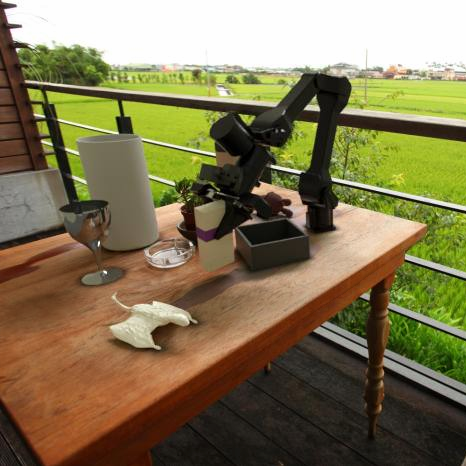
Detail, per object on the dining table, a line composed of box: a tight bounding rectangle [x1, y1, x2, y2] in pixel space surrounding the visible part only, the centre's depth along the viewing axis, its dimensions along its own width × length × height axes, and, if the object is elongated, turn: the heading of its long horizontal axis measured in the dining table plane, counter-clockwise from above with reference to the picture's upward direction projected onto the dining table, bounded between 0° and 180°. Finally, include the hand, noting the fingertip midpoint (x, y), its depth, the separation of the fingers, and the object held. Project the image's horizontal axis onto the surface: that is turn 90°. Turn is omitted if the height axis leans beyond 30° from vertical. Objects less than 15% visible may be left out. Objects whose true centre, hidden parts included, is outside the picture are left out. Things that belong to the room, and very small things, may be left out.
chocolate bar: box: [193, 200, 236, 273], centre depth 76 cm, size 3×6×13 cm, turn 142°
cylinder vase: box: [75, 133, 160, 252], centre depth 90 cm, size 12×12×25 cm
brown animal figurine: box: [259, 191, 294, 217], centre depth 114 cm, size 7×7×15 cm
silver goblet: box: [58, 199, 123, 286], centre depth 76 cm, size 8×8×15 cm
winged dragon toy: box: [109, 291, 198, 351], centre depth 63 cm, size 18×10×4 cm, turn 66°
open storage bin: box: [233, 217, 311, 271], centre depth 89 cm, size 13×13×6 cm
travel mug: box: [213, 141, 238, 199], centre depth 118 cm, size 8×8×20 cm
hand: (209, 237), depth 75 cm, fingers closed on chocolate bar, 3 cm apart
